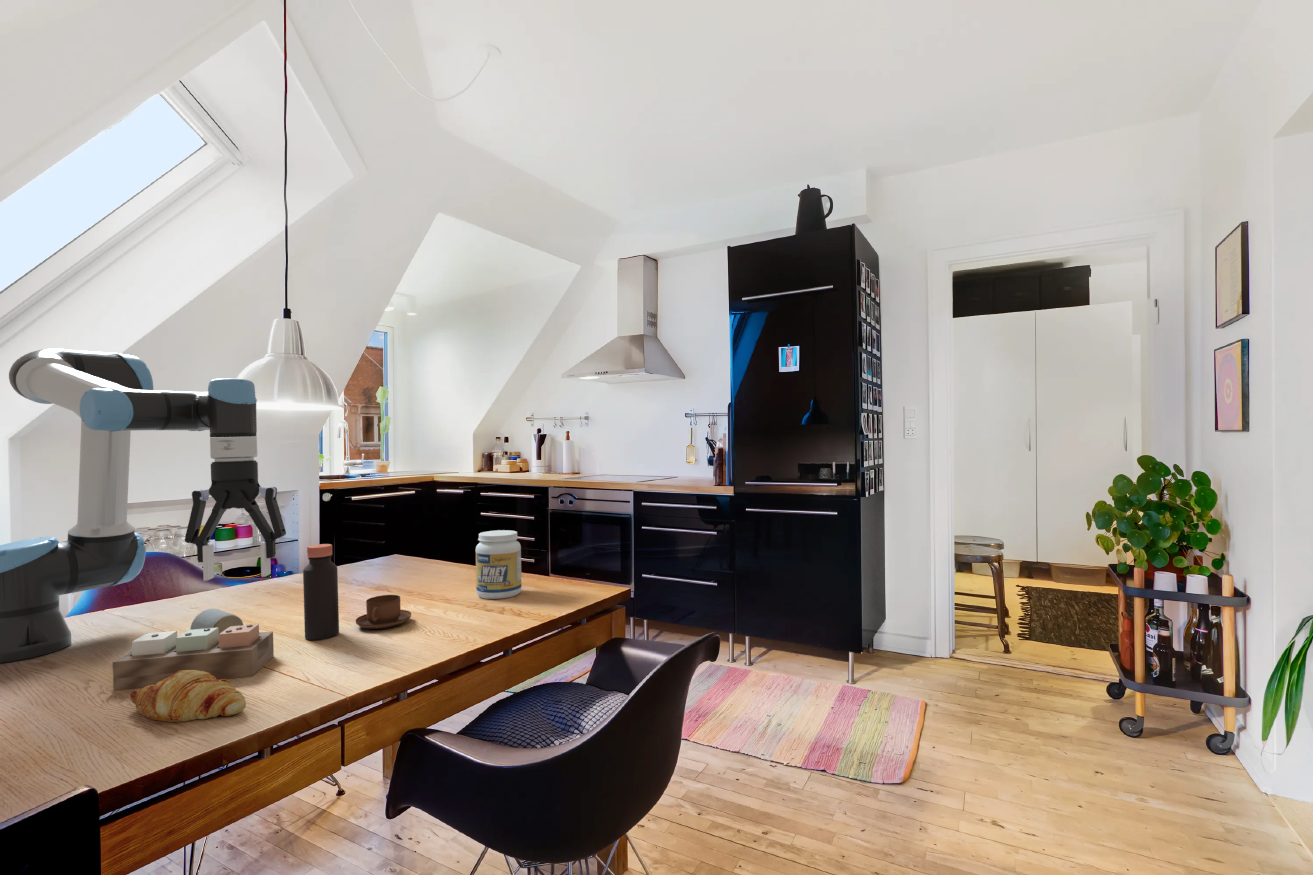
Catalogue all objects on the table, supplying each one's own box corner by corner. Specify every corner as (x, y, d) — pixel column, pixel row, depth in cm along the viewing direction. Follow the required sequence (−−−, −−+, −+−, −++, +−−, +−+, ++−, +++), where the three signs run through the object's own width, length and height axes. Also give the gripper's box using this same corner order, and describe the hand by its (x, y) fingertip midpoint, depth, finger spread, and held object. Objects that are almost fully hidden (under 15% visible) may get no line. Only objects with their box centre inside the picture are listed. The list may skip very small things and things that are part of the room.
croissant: (259, 729, 103) (276, 677, 107) (212, 725, 95) (232, 669, 98) (148, 719, 107) (168, 669, 110) (93, 715, 98) (117, 661, 102)
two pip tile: (176, 656, 117) (175, 636, 117) (189, 647, 122) (188, 628, 122) (207, 653, 118) (206, 634, 118) (219, 645, 123) (218, 626, 123)
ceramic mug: (212, 652, 131) (212, 616, 131) (189, 648, 134) (189, 613, 134) (261, 638, 140) (260, 605, 140) (238, 634, 144) (238, 601, 144)
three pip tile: (219, 652, 119) (218, 633, 119) (230, 644, 124) (230, 625, 123) (249, 650, 120) (248, 630, 120) (259, 641, 125) (258, 622, 125)
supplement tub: (472, 601, 167) (470, 537, 167) (480, 589, 179) (479, 530, 179) (519, 599, 168) (517, 535, 168) (524, 587, 180) (523, 528, 180)
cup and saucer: (411, 628, 145) (411, 601, 145) (353, 635, 140) (353, 608, 140) (411, 614, 156) (410, 590, 156) (357, 621, 152) (356, 595, 152)
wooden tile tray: (113, 689, 112) (112, 661, 112) (147, 667, 123) (146, 642, 123) (252, 676, 117) (251, 649, 117) (273, 655, 128) (273, 631, 128)
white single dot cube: (132, 660, 115) (131, 640, 115) (147, 651, 120) (146, 632, 120) (163, 657, 117) (163, 637, 117) (177, 648, 121) (177, 629, 121)
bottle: (346, 631, 143) (343, 543, 143) (322, 641, 136) (320, 549, 136) (321, 630, 145) (319, 542, 145) (297, 639, 138) (294, 548, 138)
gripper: (158, 462, 115) (162, 585, 115) (290, 458, 120) (294, 576, 120) (179, 460, 123) (182, 577, 123) (303, 457, 128) (306, 568, 128)
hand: (237, 576), depth 122 cm, fingers open, 9 cm apart
